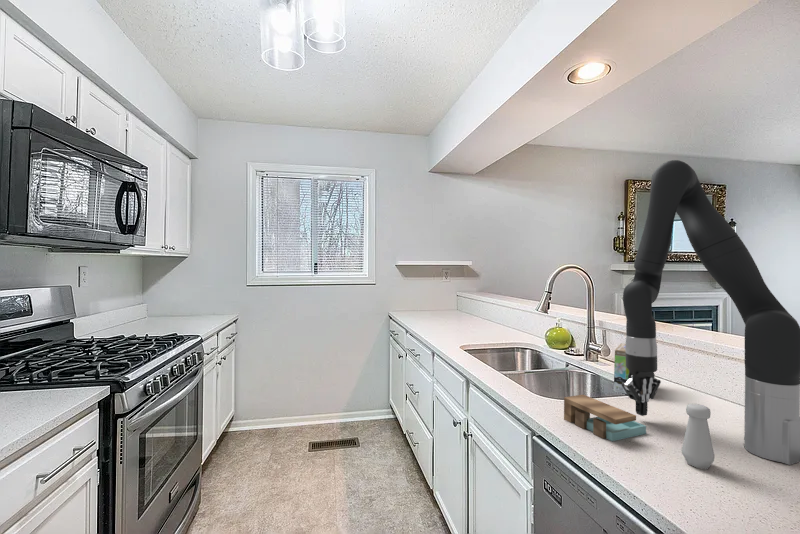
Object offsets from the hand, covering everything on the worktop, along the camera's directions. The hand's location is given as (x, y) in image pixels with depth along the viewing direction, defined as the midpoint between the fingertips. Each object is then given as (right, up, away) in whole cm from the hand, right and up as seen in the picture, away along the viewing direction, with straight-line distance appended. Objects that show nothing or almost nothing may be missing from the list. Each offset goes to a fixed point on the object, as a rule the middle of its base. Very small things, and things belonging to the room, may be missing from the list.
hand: (641, 414), depth 107 cm
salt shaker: (-2, -2, -23) cm, 23 cm away
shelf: (-15, -2, -5) cm, 16 cm away
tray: (-11, -2, -6) cm, 12 cm away
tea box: (+14, -2, +27) cm, 31 cm away
